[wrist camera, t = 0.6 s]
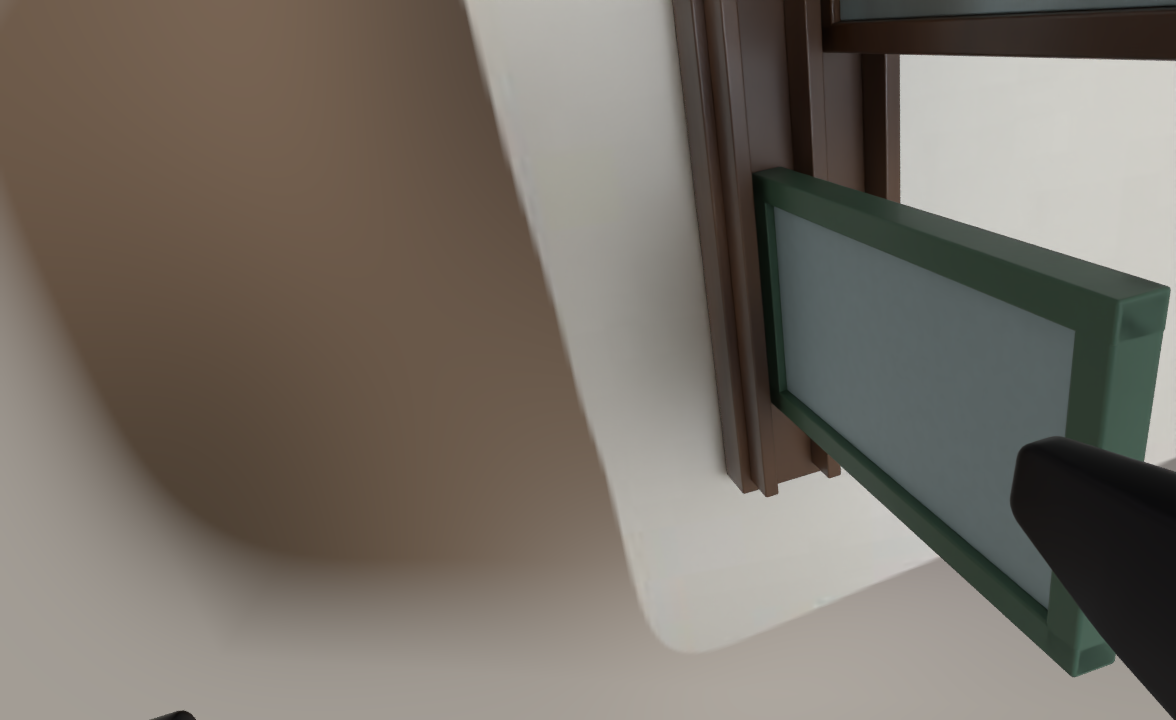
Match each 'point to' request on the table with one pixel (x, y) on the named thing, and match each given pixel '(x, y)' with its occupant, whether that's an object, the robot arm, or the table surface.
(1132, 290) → the sash
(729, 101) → the frame display rack
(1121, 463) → the robot arm
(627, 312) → the table surface
